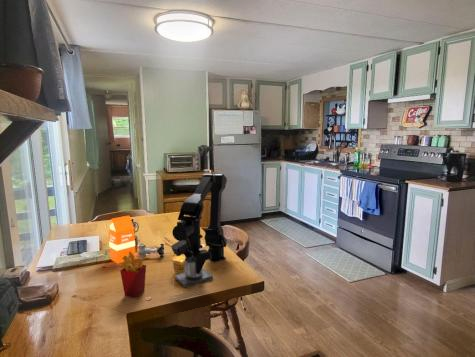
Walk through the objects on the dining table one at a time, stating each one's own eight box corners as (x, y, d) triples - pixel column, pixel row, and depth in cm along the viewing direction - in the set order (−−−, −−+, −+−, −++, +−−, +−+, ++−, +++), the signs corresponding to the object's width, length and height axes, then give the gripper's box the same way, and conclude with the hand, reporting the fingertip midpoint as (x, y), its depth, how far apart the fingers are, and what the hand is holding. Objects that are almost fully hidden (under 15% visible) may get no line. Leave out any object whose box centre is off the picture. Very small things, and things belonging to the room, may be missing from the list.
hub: (197, 268, 125) (197, 254, 124) (205, 274, 119) (205, 260, 118) (182, 272, 121) (181, 258, 120) (189, 279, 115) (189, 264, 114)
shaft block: (202, 271, 127) (201, 257, 127) (212, 279, 120) (212, 264, 119) (175, 278, 121) (174, 264, 120) (184, 287, 113) (184, 272, 112)
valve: (135, 260, 139) (162, 260, 140) (134, 247, 138) (161, 246, 139) (139, 255, 146) (164, 254, 146) (138, 242, 145) (164, 241, 145)
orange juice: (136, 258, 142) (133, 216, 139) (117, 263, 135) (115, 220, 133) (127, 253, 147) (125, 213, 145) (110, 259, 141) (107, 217, 138)
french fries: (148, 290, 111) (146, 251, 110) (135, 301, 103) (133, 260, 102) (126, 287, 113) (124, 249, 111) (113, 298, 105) (110, 257, 104)
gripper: (164, 230, 121) (165, 267, 123) (183, 243, 106) (185, 285, 108) (189, 225, 127) (190, 261, 129) (211, 237, 112) (212, 277, 114)
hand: (193, 270), depth 120 cm, fingers closed on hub, 7 cm apart
